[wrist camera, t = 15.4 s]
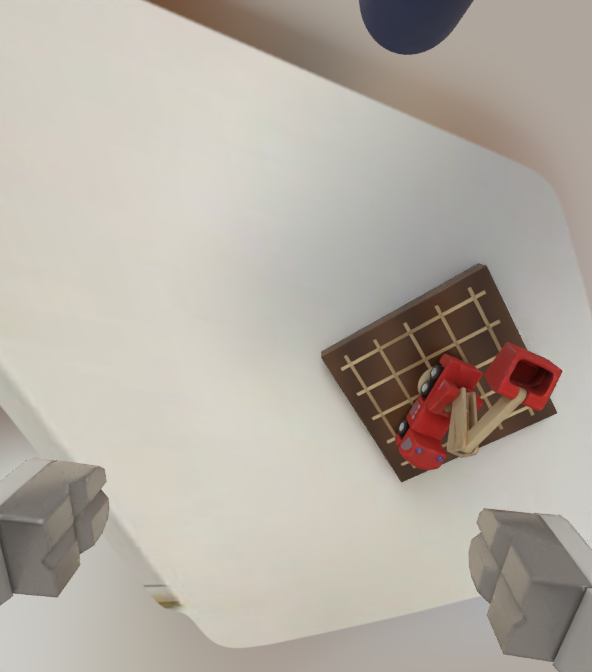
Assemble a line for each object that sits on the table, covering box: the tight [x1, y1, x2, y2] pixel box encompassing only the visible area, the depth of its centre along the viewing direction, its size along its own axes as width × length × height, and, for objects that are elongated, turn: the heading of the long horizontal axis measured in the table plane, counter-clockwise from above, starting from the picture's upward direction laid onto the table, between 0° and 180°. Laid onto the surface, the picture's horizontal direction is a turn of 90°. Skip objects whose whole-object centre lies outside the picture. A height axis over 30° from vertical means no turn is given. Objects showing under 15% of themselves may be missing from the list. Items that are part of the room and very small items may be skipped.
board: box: [321, 264, 557, 482], centre depth 34 cm, size 16×16×2 cm
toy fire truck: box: [395, 342, 562, 470], centre depth 28 cm, size 3×14×10 cm, turn 157°
